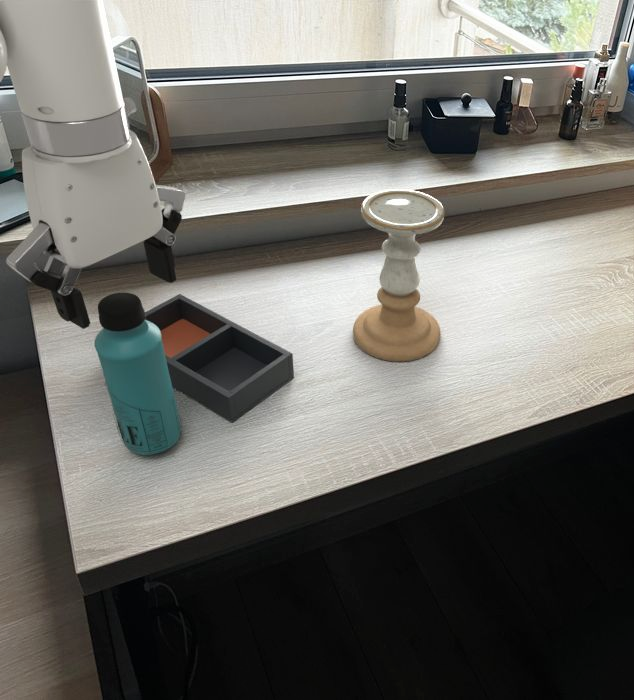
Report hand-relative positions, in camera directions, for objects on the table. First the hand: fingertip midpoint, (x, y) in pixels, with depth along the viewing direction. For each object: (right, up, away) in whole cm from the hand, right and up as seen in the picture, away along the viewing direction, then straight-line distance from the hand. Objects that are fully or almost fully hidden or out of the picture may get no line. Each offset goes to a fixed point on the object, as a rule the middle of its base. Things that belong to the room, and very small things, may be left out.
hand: (122, 298), depth 70 cm
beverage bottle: (-2, -16, +12) cm, 20 cm away
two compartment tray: (0, -7, +24) cm, 25 cm away
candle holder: (+23, -3, +33) cm, 40 cm away
